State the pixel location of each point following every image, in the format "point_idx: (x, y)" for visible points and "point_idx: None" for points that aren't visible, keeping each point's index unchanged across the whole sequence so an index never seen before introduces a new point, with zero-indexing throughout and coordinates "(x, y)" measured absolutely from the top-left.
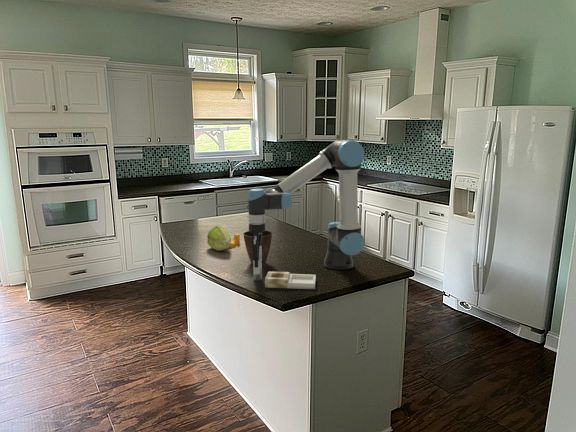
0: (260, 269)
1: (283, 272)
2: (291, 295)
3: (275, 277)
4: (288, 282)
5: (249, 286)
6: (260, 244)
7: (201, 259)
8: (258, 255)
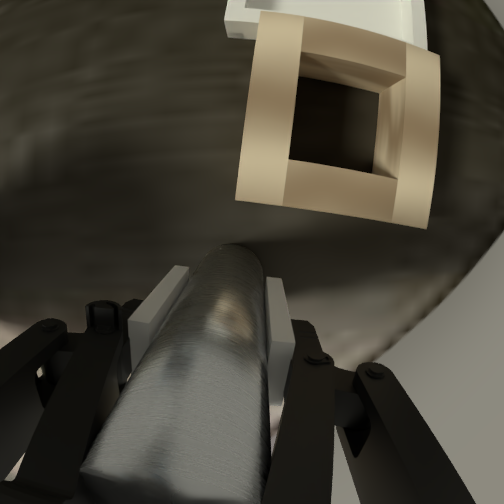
0: (253, 281)
1: (270, 57)
2: (494, 81)
3: (403, 137)
4: None
5: (367, 320)
6: (59, 478)
7: None
8: (334, 401)
